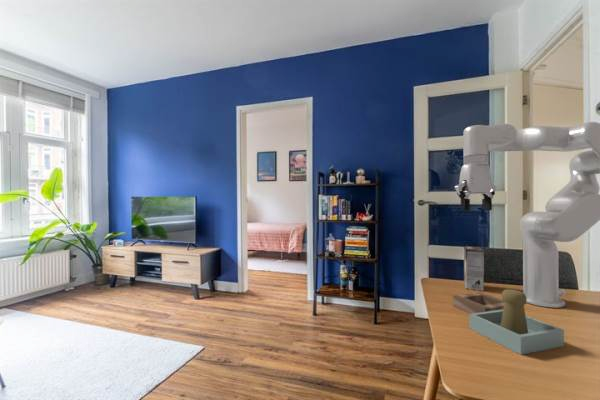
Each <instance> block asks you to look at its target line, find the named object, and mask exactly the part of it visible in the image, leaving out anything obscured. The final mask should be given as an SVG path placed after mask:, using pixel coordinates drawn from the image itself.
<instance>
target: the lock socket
mask: <svg viewBox="0 0 600 400" xmlns="http://www.w3.org/2000/svg"><path fill="white" fill-rule="evenodd" d="M452 307H454V308H457V309H459V310H461V311H463V312H465V313H467V314H473V313H481V312H488V311H495V310H502V309H503V307H504V301H503V299H502V298H501V299H500V298H498V297H495V296H493V295H492V296H491V295H489V294H486V293H484V292H475V293H464V294H457V295H452Z"/></svg>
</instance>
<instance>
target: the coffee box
mask: <svg viewBox="0 0 600 400" xmlns="http://www.w3.org/2000/svg"><path fill="white" fill-rule="evenodd" d="M484 252H485V251H484V249H483V248H482V247H481V246H479V247H478V246H472V245H471V246H470V245H466V246H465V245H464V246H463V282H464V283H465V284H464V283H463V284H464V287H465V289H466V288H468V289H467V290H471V289H475V290H474V291H479V290H482V291H481V292H483V291H484V290H485V288H484V287H485V285H484V284H485V283H484V282H485V281H484V280H485V279H484V278H485V276H484V275H485V261H484V260H485V258H484V257H485V256H484V255H485V253H484Z"/></svg>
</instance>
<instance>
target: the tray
mask: <svg viewBox="0 0 600 400" xmlns="http://www.w3.org/2000/svg"><path fill="white" fill-rule="evenodd" d="M502 314H503V309H502V310H495V311H488V312H481V313H473V314H470V313H468V315H469V316H468V324H469V325H468V326H469V327H468V328H469V329H470V330H471V331H473V332H476V333H477V334H480V335H482V336H484V337H486V338H488V339H490V340H491V341H493V342H495V343H496V344H499V345H501V346H504V347H505V348H508V349H509V350H511V351H512V352H515V353H518V354H519V355H526V354H527V355H528V354H531V352H532V353H536V352H541V351H546V350H551V349H557V348H562V347H564V346H565V339H564V338H565V329H563V328H560V327H558V326H555V325H552V324H549V323H548V322H544V321H541V320H539V319H536V318H533V317H531V316H528V315H526V314H525V316H526V322H527V328H528V333H527V334H521V335H519V334H517V333H515V332H512V331H510V330H508V329H506V328H503V327H501V320H502Z"/></svg>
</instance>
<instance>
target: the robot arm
mask: <svg viewBox="0 0 600 400" xmlns="http://www.w3.org/2000/svg"><path fill="white" fill-rule="evenodd" d="M462 136H463V140H462V141H463V142H462V143H463V148H462V149H463V150H462V151H463V153H462V154H463V165H462V166H461V169H460V173H459V183H458V184H456V185H455V186H454V189H455V191H456V194H457V196H458V199H459V200H460V210H461V211H465V212H466V211H468V212H469V211H470V209H471V202H470V201H471V200H470V195H475V194H480V195H481V197H482V200H481V203H482V204H481V209H482V210H483V211H492V206H493V205H492V203H493V202H492V201H493V199H494V196H495V195H496V190H497V186H496V185H494V184H493V183H492V175H491V168H490V165H489V163H490V162H489V161H490V160H489V158H490V157H489V153H490V152H531V151H536V152H537V151H539V152H562V153H563V152H564V153H565V152H568V153H569V152H574V151H580V150H586V149H591V150H587V151H583V152H580V153H579V152H578V153H576V154H575V155H574V156H573V157H572V158H571V159H570V161H569V166H568V167H569V173H570V179H569V182H568V183H567V184H565V186H563V187H562V188H561V189H560V190H559V191H557V192H556V193H555V194H554V195H552V196H551V197H550V198H549V199H548V201H547V202H546V203H545V206H544V207H545V208H544V209H545V211H531V212H527V213H526V214H524V215H523V216H521V218H520V220H519V232H520V235H521V240H522V252H523V253H522V263H523V264H522V272H523V273H522V281H523V282H522V285H523V286H522V290H523V291H522V292H523V293H524V294H525V295H526V298H527V301H526V303H527V304H530V305H534V306H539V307H545V308H553V309H554V308H555V309H556V308H557V309H558V308H563V307H565V306H566V302H565V300H563V299H561V298H560V296H566V294H567V291H566V290H565V289H563V288H562V289H561V288H560V289H559V286H560V285H559V284H560V283H559V280H560V279H559V257H560V256H559V249H558V247H557V245H556V242H560V243H562V242H563V243H569V242H573V241H575V240H577V239H579V238H580V237H582V236H583V235H584V234H585V233H586V232H588V231H589V230H590V229H591V228H592V227H594V226H595V225H596V224H597V223H598V222H599V221H600V185H599V182H598V179H597V175H600V122H597V121H587V122H585V123H581V124H577V125H573V126H549V125H548V126H546V125H537V126H530V127H529V126H528V127H524V128H521V129H517V128H516V127H515V126H514V125H512V124H509V123H498V124H497V123H496V124H490V125H485V124H475V125H470V126H467V127H466V128H464V130H463V135H462Z"/></svg>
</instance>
